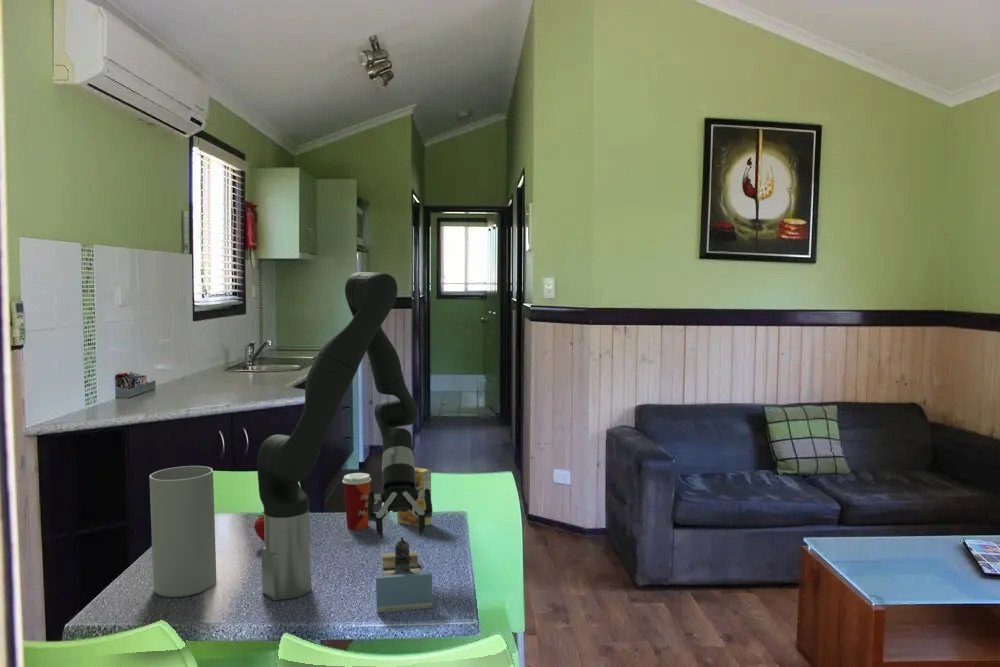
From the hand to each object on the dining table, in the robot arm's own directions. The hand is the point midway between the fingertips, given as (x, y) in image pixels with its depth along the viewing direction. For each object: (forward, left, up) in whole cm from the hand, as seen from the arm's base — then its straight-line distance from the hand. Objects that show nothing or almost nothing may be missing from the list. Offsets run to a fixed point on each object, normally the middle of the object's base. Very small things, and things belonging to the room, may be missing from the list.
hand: (401, 535), depth 158 cm
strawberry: (-13, +42, -11) cm, 45 cm away
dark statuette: (-5, -8, -9) cm, 13 cm away
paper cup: (+11, +40, -11) cm, 43 cm away
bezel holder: (-5, -8, -10) cm, 14 cm away
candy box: (+24, +32, -11) cm, 42 cm away
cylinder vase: (-37, +29, -11) cm, 48 cm away
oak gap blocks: (+2, +4, -10) cm, 11 cm away
